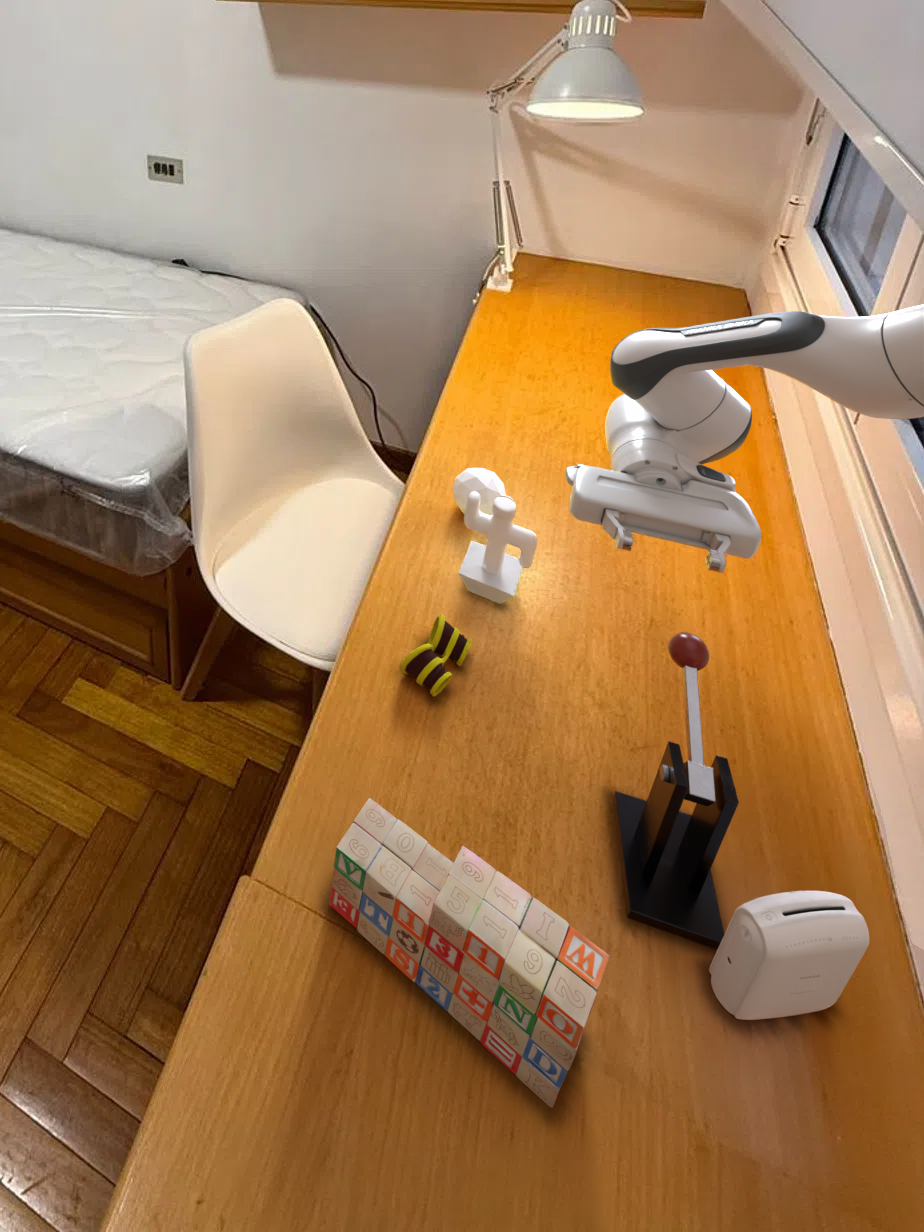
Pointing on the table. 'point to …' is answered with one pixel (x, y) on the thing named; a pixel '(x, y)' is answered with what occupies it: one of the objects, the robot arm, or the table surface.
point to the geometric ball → (478, 488)
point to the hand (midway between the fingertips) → (670, 556)
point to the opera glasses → (427, 664)
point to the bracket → (674, 851)
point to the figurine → (495, 550)
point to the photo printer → (788, 954)
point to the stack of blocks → (471, 944)
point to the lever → (693, 715)
